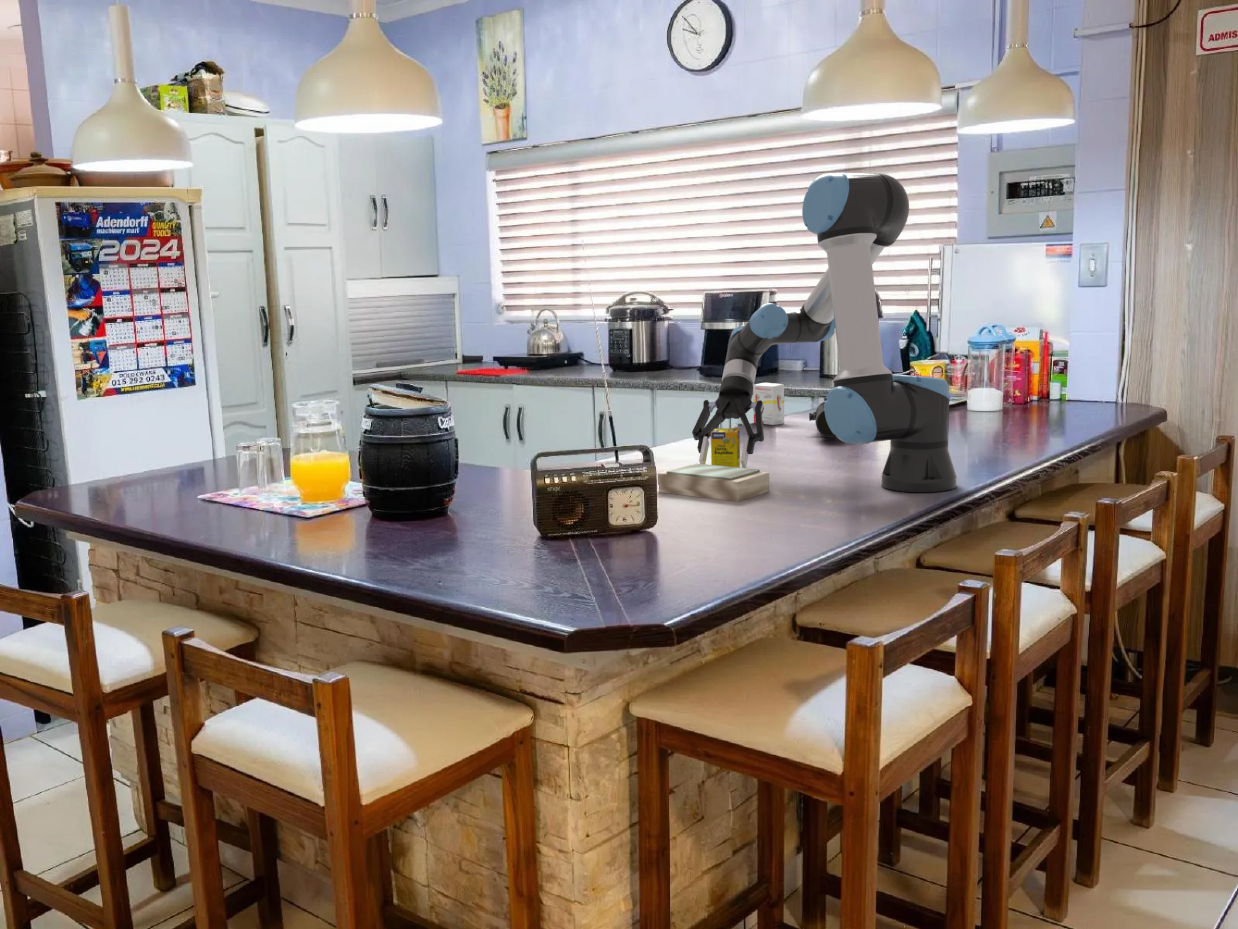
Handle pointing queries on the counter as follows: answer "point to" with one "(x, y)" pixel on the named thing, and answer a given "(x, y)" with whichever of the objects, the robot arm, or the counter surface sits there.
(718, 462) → the supplement box
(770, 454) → the counter surface
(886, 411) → the robot arm
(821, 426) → the rifle scope
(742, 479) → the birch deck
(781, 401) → the ink box
